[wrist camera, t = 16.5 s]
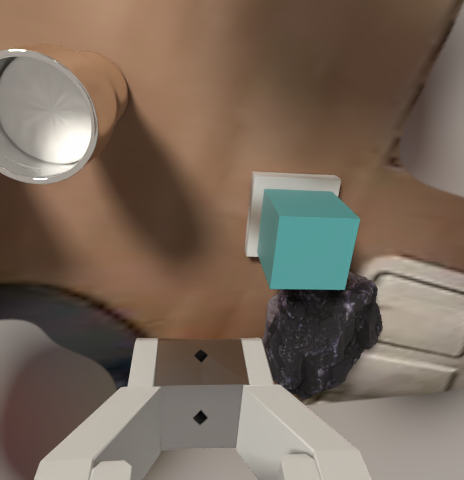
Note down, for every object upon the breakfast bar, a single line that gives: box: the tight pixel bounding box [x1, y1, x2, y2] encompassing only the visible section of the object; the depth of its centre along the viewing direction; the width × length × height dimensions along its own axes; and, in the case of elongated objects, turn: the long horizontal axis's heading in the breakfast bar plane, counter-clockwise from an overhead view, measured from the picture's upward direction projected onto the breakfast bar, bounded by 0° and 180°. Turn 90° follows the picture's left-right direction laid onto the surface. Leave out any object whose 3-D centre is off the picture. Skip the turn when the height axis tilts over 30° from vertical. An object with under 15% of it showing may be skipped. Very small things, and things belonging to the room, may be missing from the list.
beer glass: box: [0, 44, 128, 184], centre depth 28 cm, size 7×7×15 cm
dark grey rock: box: [263, 271, 383, 399], centre depth 42 cm, size 13×14×10 cm
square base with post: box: [245, 171, 341, 257], centre depth 37 cm, size 8×8×8 cm
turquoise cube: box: [257, 189, 360, 290], centre depth 35 cm, size 6×6×7 cm
